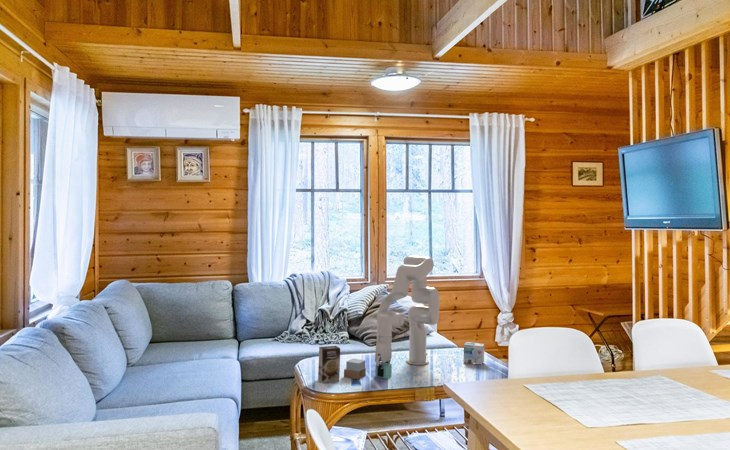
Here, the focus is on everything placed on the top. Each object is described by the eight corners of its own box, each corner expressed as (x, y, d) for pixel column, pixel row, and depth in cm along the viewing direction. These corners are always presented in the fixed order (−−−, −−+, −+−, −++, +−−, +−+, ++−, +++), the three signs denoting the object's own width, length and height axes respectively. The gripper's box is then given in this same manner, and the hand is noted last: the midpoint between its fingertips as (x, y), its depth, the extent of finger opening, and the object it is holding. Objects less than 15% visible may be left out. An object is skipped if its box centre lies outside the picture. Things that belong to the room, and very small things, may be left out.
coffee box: (321, 383, 232) (322, 349, 232) (317, 379, 238) (318, 346, 238) (339, 381, 235) (340, 348, 236) (335, 377, 241) (336, 345, 242)
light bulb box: (463, 363, 274) (463, 344, 274) (465, 360, 280) (465, 341, 280) (482, 365, 270) (482, 346, 270) (484, 362, 276) (484, 343, 276)
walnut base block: (351, 373, 250) (352, 365, 250) (365, 376, 246) (365, 368, 246) (343, 377, 243) (344, 369, 243) (357, 380, 239) (357, 372, 239)
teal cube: (380, 373, 250) (381, 362, 250) (391, 375, 247) (391, 363, 247) (375, 376, 244) (375, 364, 244) (386, 378, 241) (386, 366, 242)
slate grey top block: (353, 366, 249) (353, 358, 249) (365, 368, 246) (365, 360, 246) (346, 369, 243) (346, 361, 243) (358, 371, 240) (358, 363, 240)
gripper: (385, 334, 255) (384, 369, 255) (369, 341, 240) (368, 377, 240) (398, 336, 251) (397, 371, 251) (383, 343, 236) (382, 380, 236)
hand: (383, 374), depth 246 cm, fingers closed on teal cube, 6 cm apart
